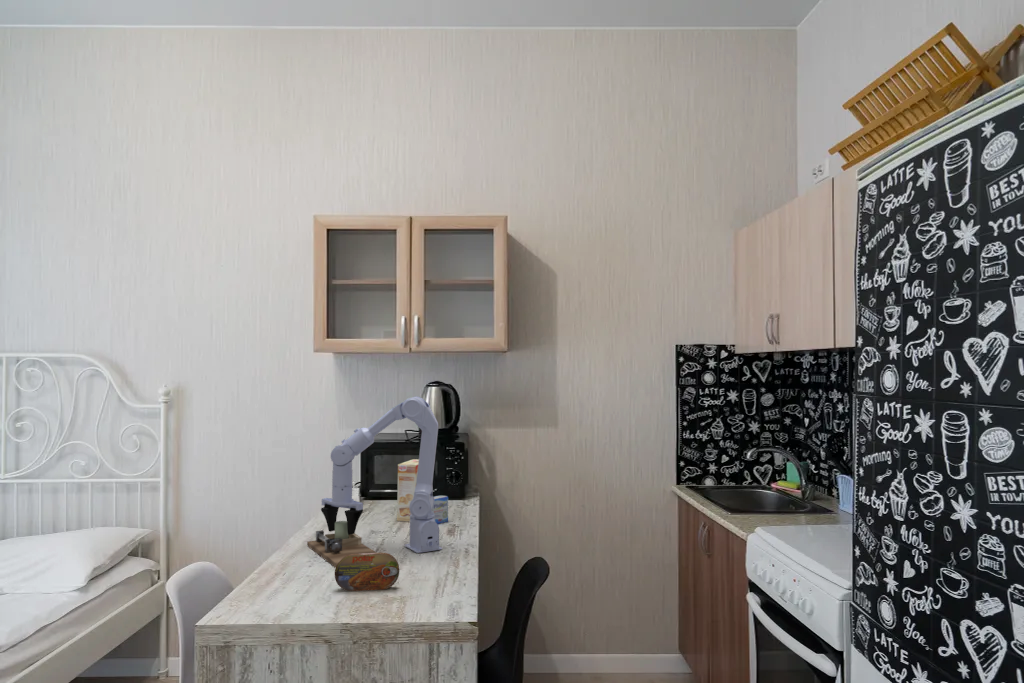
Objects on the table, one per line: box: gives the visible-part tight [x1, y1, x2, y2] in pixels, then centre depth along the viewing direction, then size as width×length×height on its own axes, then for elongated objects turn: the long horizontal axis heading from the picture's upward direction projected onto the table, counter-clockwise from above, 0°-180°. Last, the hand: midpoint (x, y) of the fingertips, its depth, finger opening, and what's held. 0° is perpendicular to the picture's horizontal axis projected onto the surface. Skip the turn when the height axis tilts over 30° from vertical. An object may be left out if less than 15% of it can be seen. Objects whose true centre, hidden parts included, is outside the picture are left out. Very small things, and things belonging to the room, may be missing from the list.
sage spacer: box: [334, 520, 349, 539], centre depth 204 cm, size 4×4×6 cm
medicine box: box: [431, 495, 449, 525], centre depth 237 cm, size 8×4×9 cm, turn 143°
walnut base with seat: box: [306, 532, 378, 568], centre depth 197 cm, size 29×13×3 cm, turn 32°
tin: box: [334, 552, 400, 592], centre depth 166 cm, size 15×3×8 cm, turn 98°
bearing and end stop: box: [315, 529, 342, 553], centre depth 200 cm, size 14×4×3 cm, turn 32°
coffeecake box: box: [396, 458, 419, 523], centre depth 246 cm, size 15×7×20 cm, turn 168°
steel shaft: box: [318, 534, 342, 553], centre depth 198 cm, size 16×3×3 cm, turn 32°
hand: (341, 532), depth 204 cm, fingers open, 7 cm apart
